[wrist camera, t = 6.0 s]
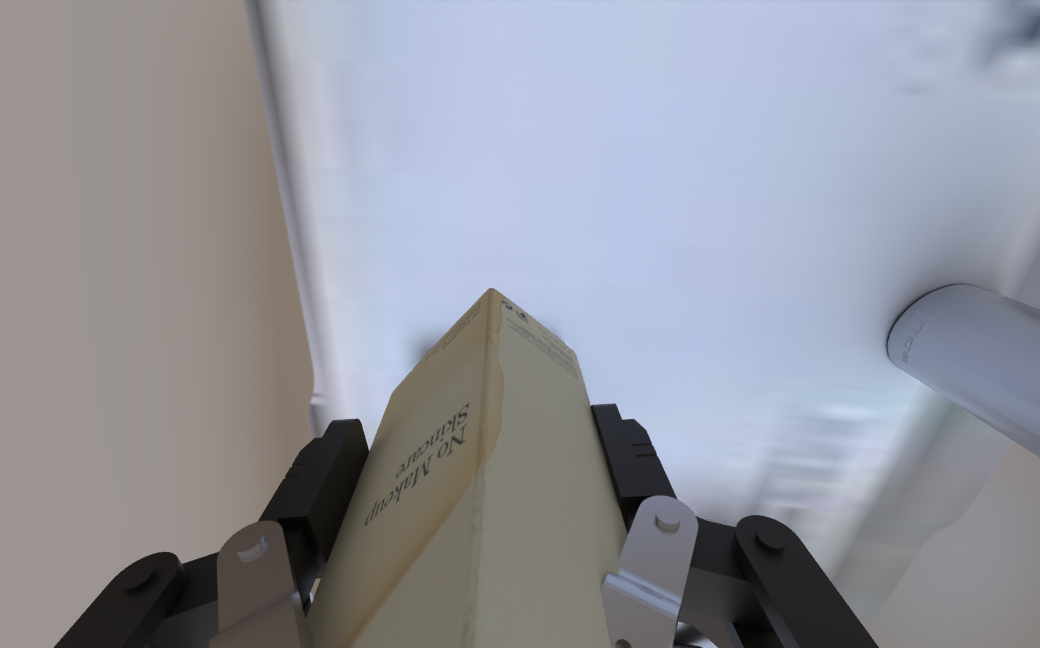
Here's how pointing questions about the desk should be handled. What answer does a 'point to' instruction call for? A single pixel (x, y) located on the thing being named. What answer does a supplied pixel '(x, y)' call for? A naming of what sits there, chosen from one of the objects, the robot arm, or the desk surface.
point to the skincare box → (478, 502)
